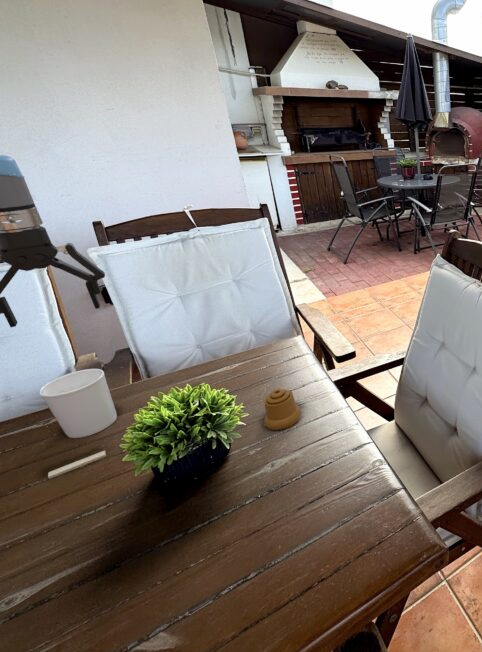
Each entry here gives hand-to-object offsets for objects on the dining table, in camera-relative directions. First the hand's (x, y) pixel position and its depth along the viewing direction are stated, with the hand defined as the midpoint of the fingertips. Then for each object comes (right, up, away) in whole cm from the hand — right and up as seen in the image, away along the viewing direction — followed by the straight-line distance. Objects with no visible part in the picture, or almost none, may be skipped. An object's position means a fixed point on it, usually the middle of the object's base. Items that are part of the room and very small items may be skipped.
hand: (57, 315), depth 95 cm
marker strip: (+21, -29, -14) cm, 38 cm away
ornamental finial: (+55, -24, -2) cm, 60 cm away
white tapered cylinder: (+12, -25, -4) cm, 28 cm away
